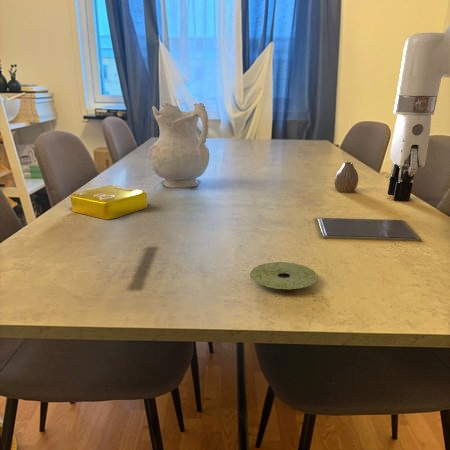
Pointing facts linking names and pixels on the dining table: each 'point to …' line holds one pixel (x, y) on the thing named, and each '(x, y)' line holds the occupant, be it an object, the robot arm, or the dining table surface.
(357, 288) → the dining table surface
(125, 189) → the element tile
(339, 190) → the vase
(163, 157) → the ceramic pitcher
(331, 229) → the tablet
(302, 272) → the green stone disc
